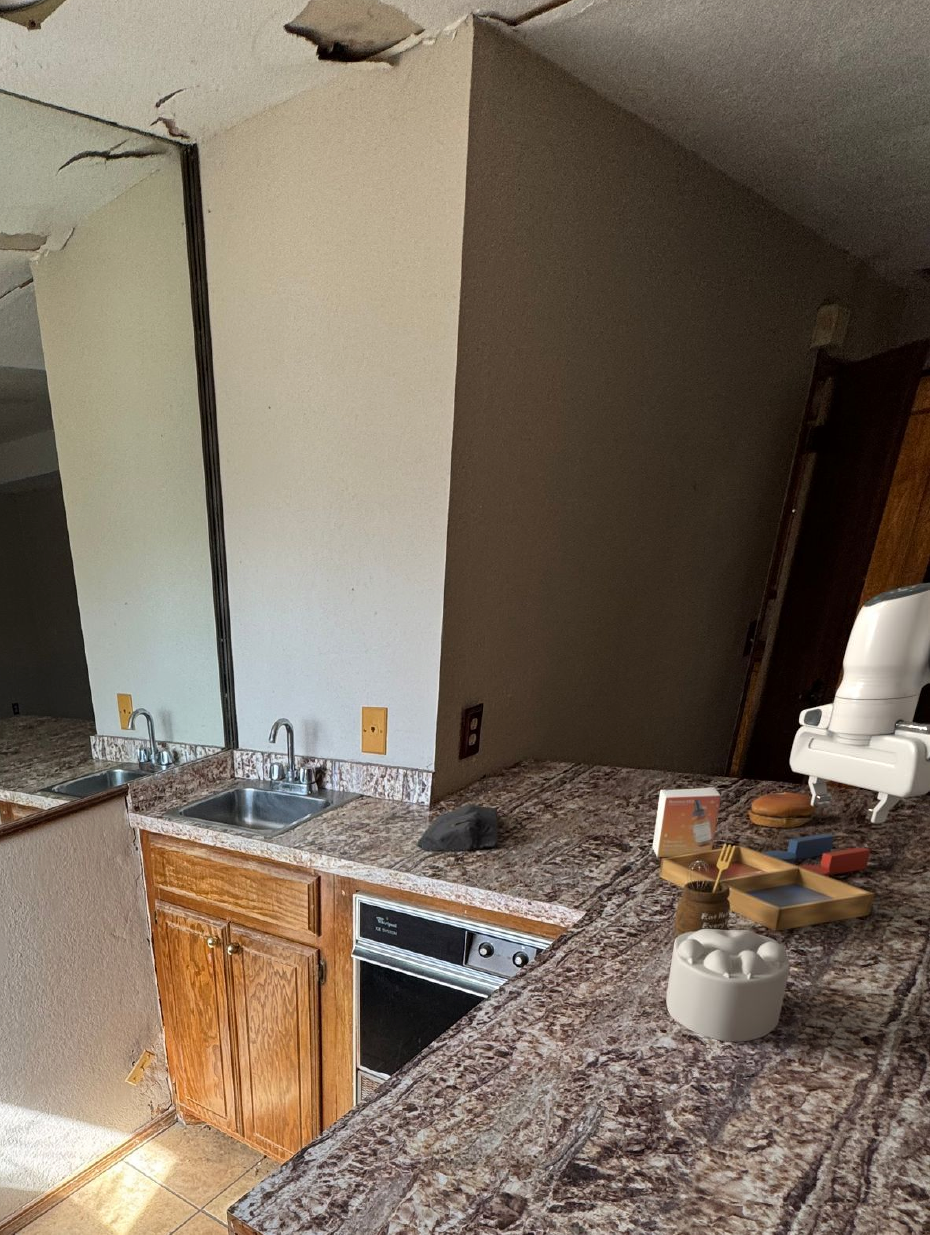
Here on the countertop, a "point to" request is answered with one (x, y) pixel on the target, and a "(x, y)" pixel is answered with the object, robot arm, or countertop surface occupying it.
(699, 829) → the small box
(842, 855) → the red angular block
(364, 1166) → the countertop surface
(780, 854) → the blue l-shaped block
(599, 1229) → the countertop surface
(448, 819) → the dark slate chunk
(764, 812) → the burger
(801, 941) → the countertop surface
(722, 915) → the utensil holder
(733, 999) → the lumpy-topped squat cylinder
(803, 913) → the cutlery tray
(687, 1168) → the countertop surface
